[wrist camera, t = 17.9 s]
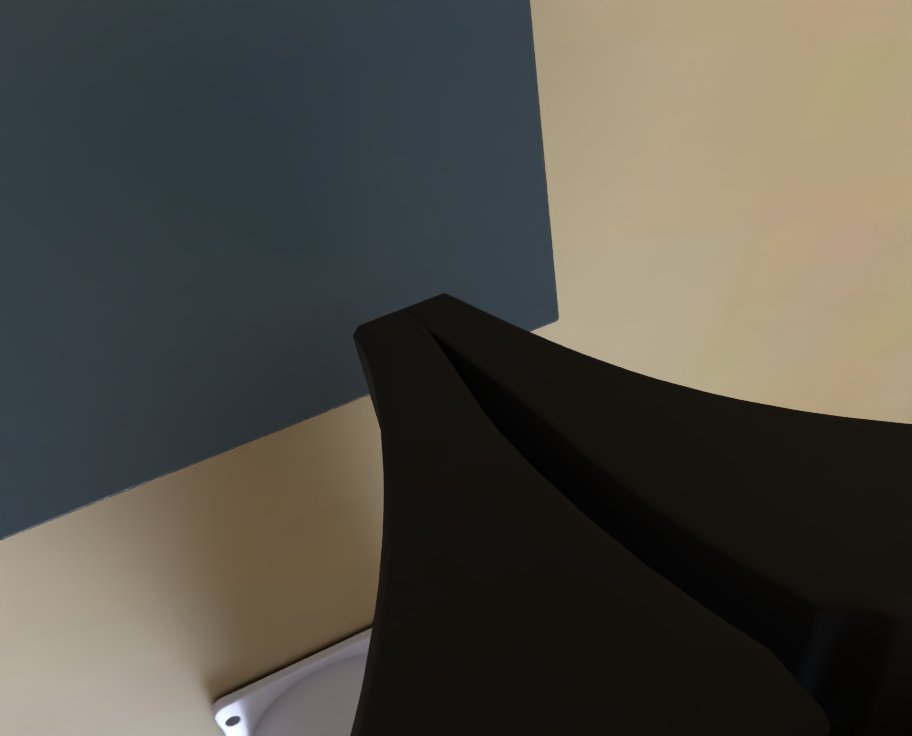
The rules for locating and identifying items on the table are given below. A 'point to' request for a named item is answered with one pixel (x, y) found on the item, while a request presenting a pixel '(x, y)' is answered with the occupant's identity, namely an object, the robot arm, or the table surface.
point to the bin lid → (242, 217)
